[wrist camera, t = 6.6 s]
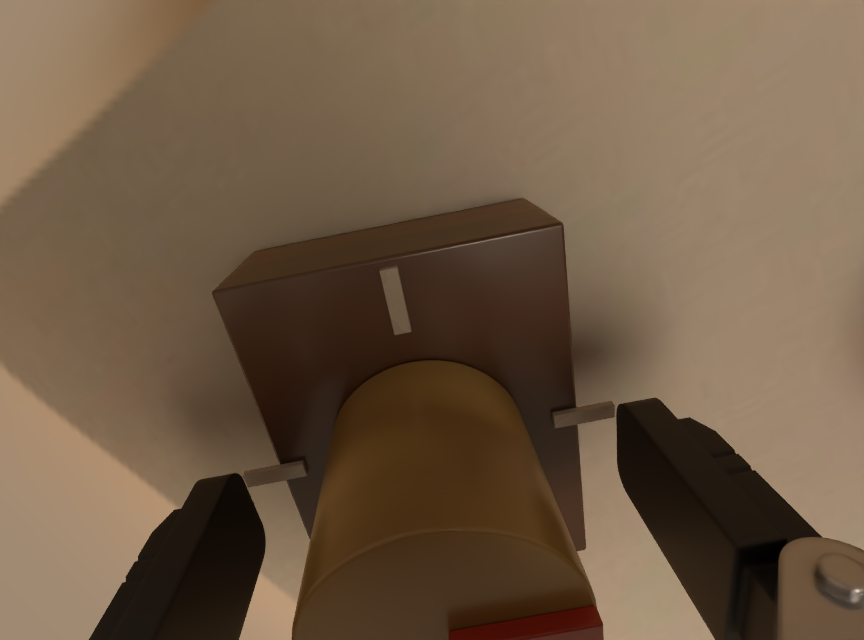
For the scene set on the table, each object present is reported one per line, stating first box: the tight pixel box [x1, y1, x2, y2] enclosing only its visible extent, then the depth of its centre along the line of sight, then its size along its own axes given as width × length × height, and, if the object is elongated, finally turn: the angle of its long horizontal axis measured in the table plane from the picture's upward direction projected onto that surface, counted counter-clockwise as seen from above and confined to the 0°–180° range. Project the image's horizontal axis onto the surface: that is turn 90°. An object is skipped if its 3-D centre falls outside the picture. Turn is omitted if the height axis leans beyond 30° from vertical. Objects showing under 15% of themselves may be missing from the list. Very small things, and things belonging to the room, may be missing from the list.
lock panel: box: [212, 198, 615, 551], centre depth 12 cm, size 9×9×3 cm
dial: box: [292, 360, 603, 640], centre depth 9 cm, size 4×4×5 cm
